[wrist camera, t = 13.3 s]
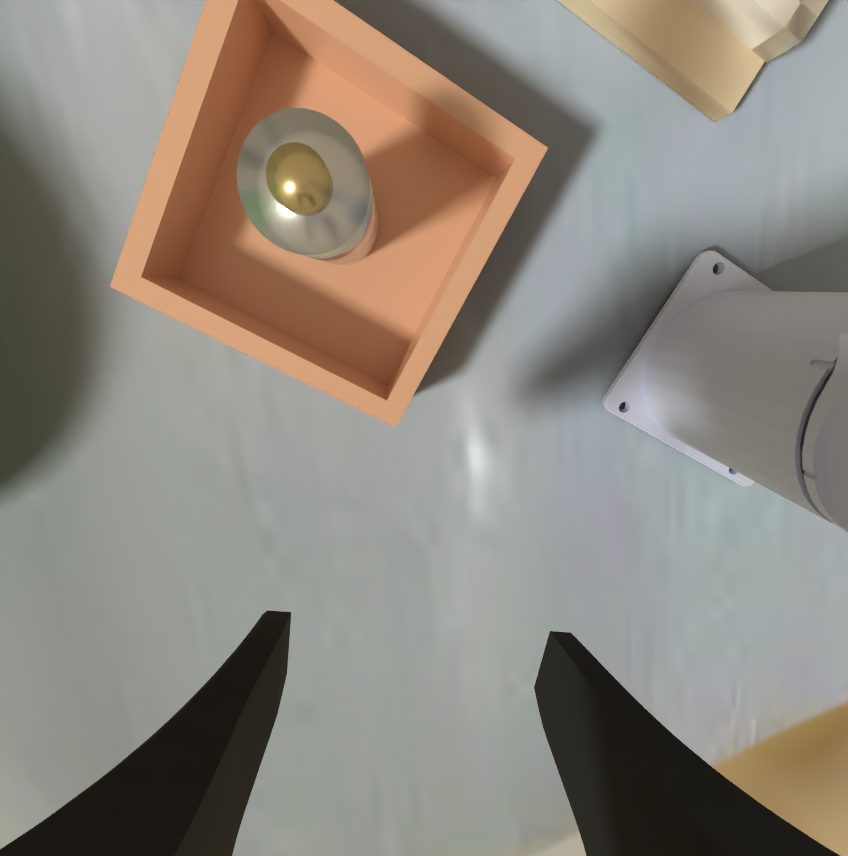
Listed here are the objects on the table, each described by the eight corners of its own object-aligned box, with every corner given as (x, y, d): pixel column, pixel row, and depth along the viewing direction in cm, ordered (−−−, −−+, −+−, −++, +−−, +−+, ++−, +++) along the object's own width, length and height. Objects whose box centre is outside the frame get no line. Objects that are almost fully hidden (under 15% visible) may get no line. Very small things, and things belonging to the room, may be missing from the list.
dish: (519, 173, 18) (548, 148, 15) (395, 404, 21) (395, 427, 17) (263, 3, 16) (230, -71, 13) (160, 286, 19) (109, 286, 15)
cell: (395, 211, 18) (394, 159, 10) (352, 281, 18) (321, 281, 11) (325, 158, 17) (269, 58, 9) (283, 232, 18) (199, 195, 10)
